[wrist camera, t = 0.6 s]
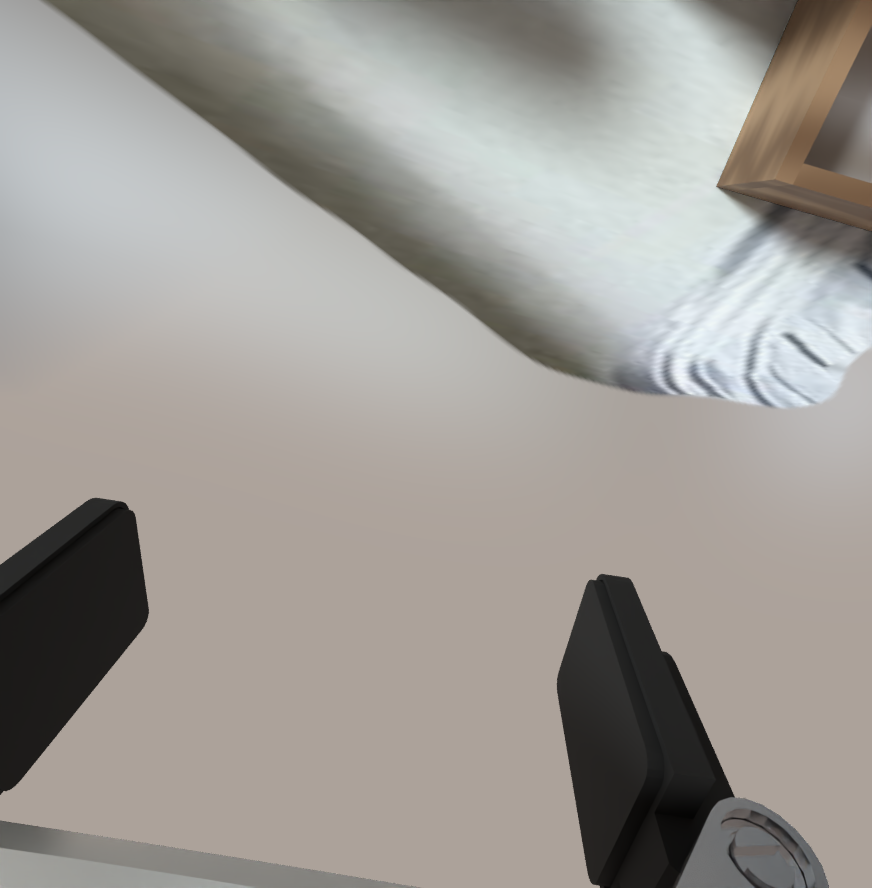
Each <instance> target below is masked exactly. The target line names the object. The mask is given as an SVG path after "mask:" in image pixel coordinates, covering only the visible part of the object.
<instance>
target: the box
mask: <svg viewBox="0 0 872 888" xmlns="http://www.w3.org/2000/svg"><path fill="white" fill-rule="evenodd" d="M716 187H720V188H723V189H727V190H730V191H734V192H737V193H741V194H744V195H747V196H751V197H754V198H758V199H761V200H765V201H768V202H772V203H775V204H779V205H782V206H785V207H789V208H792V209H796V210H799V211H803V212H806V213H810V214H813V215H817V216H820V217H823V218H827V219H830V220H834V221H837V222H841V223H844V224H848V225H851V226H855V227H858V228H861V229H865V230H868V231H872V0H798V1H797V4H796V6H795V8H794V10H793V13H792V15H791V17H790V20H789V22H788V24H787V26H786V29H785V31H784V33H783V36H782V38H781V40H780V42H779V45H778V47H777V49H776V52H775V54H774V56H773V58H772V61H771V63H770V65H769V68H768V70H767V72H766V74H765V77H764V79H763V81H762V83H761V86H760V88H759V90H758V93H757V95H756V97H755V99H754V102H753V104H752V106H751V109H750V111H749V113H748V115H747V118H746V120H745V122H744V125H743V127H742V129H741V131H740V134H739V136H738V138H737V141H736V143H735V145H734V147H733V150H732V152H731V154H730V157H729V159H728V161H727V163H726V166H725V168H724V170H723V173H722V175H721V177H720V179H719V182H718V184H717V186H716Z"/></svg>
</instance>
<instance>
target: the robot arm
mask: <svg viewBox="0 0 872 888" xmlns="http://www.w3.org/2000/svg"><path fill="white" fill-rule="evenodd" d="M148 614H149V609H148V601H147V594H146V587H145V580H144V573H143V566H142V559H141V552H140V545H139V538H138V532H137V524H136V517H135V514H134V512H133V511H131V510H129V508H128V506H127V505H126V503H124V502H121V501H114V500H107V499H100V498H92V499H90V500H88V501H86V502H85V503H84V504H83V505H81V506H80V507H78V508H77V509H76V510H74V511H73V512H71V513H70V514H69V515H67V516H66V517H65V518H63V519H62V520H61V521H59V522H58V523H56V524H55V525H54V526H52V527H51V528H50V529H48V530H47V531H46V532H44V533H43V534H41V535H40V536H39V537H37V538H36V539H35V540H33V541H32V542H31V543H29V544H28V545H27V546H25V547H24V548H22V550H20V551H18V552H17V553H16V554H15V555H13V556H12V557H10V558H9V559H7V560H6V561H5V562H4V563H2V564H1V565H0V795H1V793H2V792H3V791H7V790H10V789H12V788H13V787H14V786H16V784H17V783H18V782H19V781H20V780H21V779H22V778H23V777H24V775H25V774H26V773H27V772H28V770H29V769H30V768H31V767H32V765H33V764H34V763H35V762H36V760H37V759H38V758H39V757H40V756H41V754H42V753H43V752H44V751H45V749H46V748H47V747H48V746H49V744H50V743H51V742H52V741H53V739H54V738H55V737H56V736H57V734H58V733H59V732H60V731H61V730H62V728H63V727H64V726H65V725H66V723H67V722H68V721H69V720H70V718H71V717H72V716H73V715H74V713H75V712H76V711H77V709H78V708H79V707H80V706H81V705H82V703H83V702H84V701H85V700H86V698H87V697H88V696H89V695H90V694H91V692H92V691H93V690H94V689H95V687H96V686H97V685H98V684H99V682H100V681H101V680H102V679H103V677H104V676H105V675H106V674H107V672H108V671H109V670H110V669H111V667H112V666H113V665H114V664H115V662H116V661H117V660H118V659H119V658H120V656H121V655H122V654H123V653H124V651H125V650H126V649H127V647H128V646H129V645H130V644H131V643H132V641H133V640H134V639H135V638H136V636H137V635H138V634H139V633H140V632H141V630H142V629H143V627H144V626H145V623H146V622H147V618H148ZM557 693H558V699H559V705H560V711H561V717H562V723H563V729H564V734H565V741H566V746H567V753H568V759H569V764H570V770H571V777H572V782H573V788H574V794H575V800H576V806H577V812H578V818H579V824H580V830H581V836H582V842H583V848H584V854H585V860H586V866H587V871H588V876H589V879H590V881H591V883H592V884H594V885H599V886H600V888H829V885H828V882H827V879H826V876H825V873H824V870H823V867H822V865H821V863H820V862H819V860H818V858H817V857H816V855H815V853H814V852H813V850H812V848H811V847H810V846H809V845H808V843H807V842H806V841H805V840H804V839H803V837H802V836H801V835H800V834H799V833H798V832H797V830H796V829H795V828H793V827H792V826H791V825H790V824H789V823H788V822H787V821H785V820H784V819H783V818H782V817H781V816H780V815H778V814H776V813H775V812H773V811H772V810H770V809H768V808H766V807H765V806H763V805H762V804H759V803H756V802H753V801H751V800H748V799H745V798H735V797H734V794H733V792H732V790H731V787H730V785H729V783H728V781H727V778H726V776H725V774H724V772H723V769H722V767H721V765H720V763H719V760H718V758H717V756H716V754H715V751H714V749H713V747H712V745H711V742H710V740H709V738H708V735H707V733H706V731H705V729H704V726H703V724H702V722H701V720H700V718H699V715H698V713H697V711H696V708H695V706H694V704H693V702H692V699H691V697H690V695H689V693H688V690H687V688H686V686H685V684H684V681H683V679H682V677H681V674H680V672H679V670H678V668H677V665H676V663H675V661H674V660H673V658H672V656H671V655H669V654H668V653H667V652H662V651H661V649H660V646H659V644H658V642H657V639H656V637H655V635H654V632H653V630H652V627H651V625H650V623H649V620H648V618H647V616H646V613H645V611H644V609H643V606H642V604H641V602H640V599H639V597H638V594H637V592H636V590H635V587H634V585H633V583H632V581H631V580H630V579H629V578H625V577H619V576H612V575H605V574H601V575H599V576H598V577H597V580H589V581H588V583H587V585H586V589H585V592H584V595H583V598H582V601H581V604H580V607H579V610H578V613H577V617H576V620H575V623H574V626H573V629H572V632H571V636H570V638H569V642H568V645H567V648H566V651H565V654H564V657H563V661H562V663H561V667H560V670H559V673H558V678H557ZM0 888H419V887H413V886H407V885H401V884H395V883H388V882H383V881H377V880H371V879H365V878H358V877H353V876H347V875H341V874H335V873H329V872H322V871H316V870H310V869H304V868H298V867H291V866H285V865H279V864H273V863H267V862H260V861H254V860H247V859H242V858H236V857H229V856H223V855H217V854H210V853H204V852H198V851H192V850H185V849H179V848H173V847H166V846H160V845H153V844H148V843H141V842H135V841H129V840H122V839H115V838H109V837H103V836H96V835H90V834H83V833H77V832H70V831H64V830H57V829H51V828H44V827H38V826H31V825H25V824H18V823H11V822H5V821H0Z"/></svg>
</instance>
